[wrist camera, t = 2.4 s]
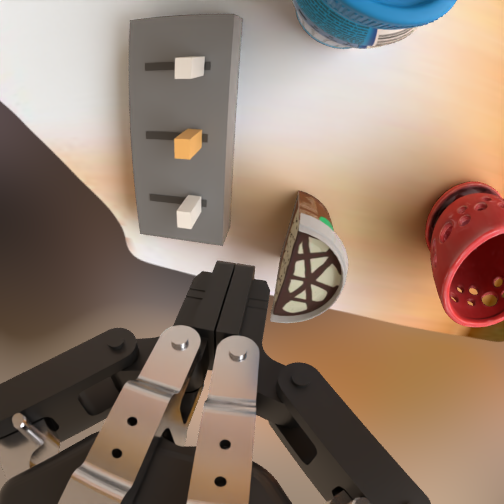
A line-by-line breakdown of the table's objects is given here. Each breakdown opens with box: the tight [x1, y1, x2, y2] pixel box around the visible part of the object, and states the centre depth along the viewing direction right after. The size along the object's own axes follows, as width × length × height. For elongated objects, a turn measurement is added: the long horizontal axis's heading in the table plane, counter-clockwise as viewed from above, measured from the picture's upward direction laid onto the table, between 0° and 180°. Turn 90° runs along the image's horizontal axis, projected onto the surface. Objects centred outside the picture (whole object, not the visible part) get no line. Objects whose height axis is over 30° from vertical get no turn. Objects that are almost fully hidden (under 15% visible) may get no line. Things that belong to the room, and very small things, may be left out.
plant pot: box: [425, 182, 504, 327], centre depth 29 cm, size 13×13×12 cm
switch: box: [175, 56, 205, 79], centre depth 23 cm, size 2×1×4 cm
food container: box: [270, 191, 348, 323], centre depth 34 cm, size 12×6×10 cm, turn 170°
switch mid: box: [174, 129, 202, 160], centre depth 27 cm, size 2×1×4 cm
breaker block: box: [129, 14, 243, 246], centre depth 31 cm, size 24×10×4 cm, turn 176°
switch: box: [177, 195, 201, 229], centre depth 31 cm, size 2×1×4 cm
